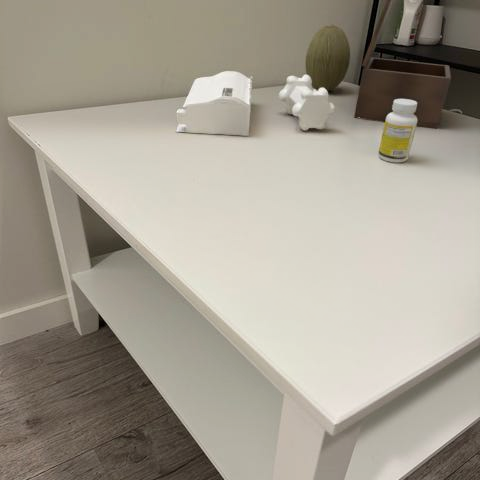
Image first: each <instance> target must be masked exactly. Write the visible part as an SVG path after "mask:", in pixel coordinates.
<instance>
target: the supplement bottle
mask: <svg viewBox="0 0 480 480" xmlns="http://www.w3.org/2000/svg"><path fill="white" fill-rule="evenodd" d="M416 108H417V102H416V101H413V100H409V99H395V100H394V102H393V106H392V110H393V112H391V113H389V114H388V115H387V117H386V120H385V122H384V124H383V125H384V126H383V130H382V135H381V140H380V143H379V144H380V145H379V149H378V157H379V159H381V160H383V161H386V162H390V163H397V164H398V163H404V162H406V161H408V159H409V156H410V153H411V148H412V145H413V141H414V136H415V133H416V128H417V126H416V125H417V117H416V116H415V115H414V112H415V111H416Z"/></svg>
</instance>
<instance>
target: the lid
mask: <svg viewBox="0 0 480 480" xmlns="http://www.w3.org/2000/svg"><path fill="white" fill-rule="evenodd" d="M393 3H394V0H386V1H385V4H384V6H383V9H382V12H381V14H380V16H379V20H378V22H377V25H376V28H375V30H374V33H373V35H372V38H371V40H370V43H369V45H368V48H367V51H366V53H365V56H364V58H363V61H362V63H361V66H362V67H363V68H364V67H366V65H367V63H368V61H369V60H370V58H371V57H372V56H373V54H374V51H375V50H376V47H377V44H378V41H379V38H380V36H381V34H382V31H383V29H384V26H385V23H386V21H387V18H388V16H389V13H390V11H391V9H392V6H393Z"/></svg>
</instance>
